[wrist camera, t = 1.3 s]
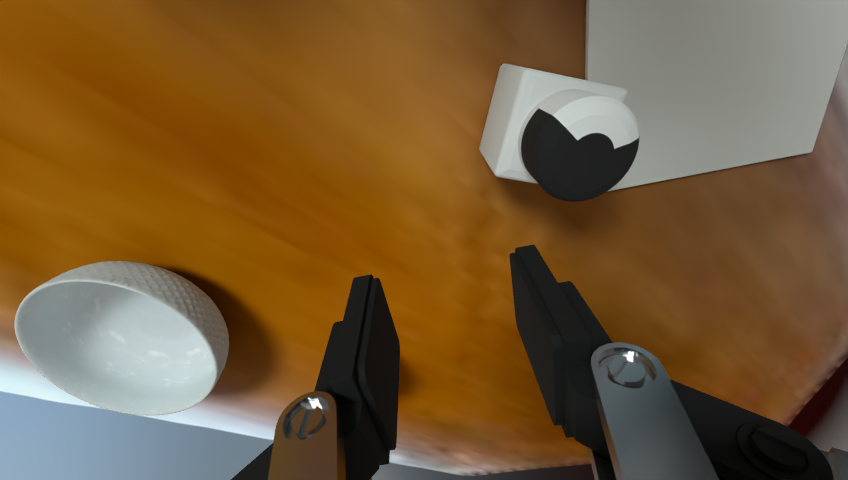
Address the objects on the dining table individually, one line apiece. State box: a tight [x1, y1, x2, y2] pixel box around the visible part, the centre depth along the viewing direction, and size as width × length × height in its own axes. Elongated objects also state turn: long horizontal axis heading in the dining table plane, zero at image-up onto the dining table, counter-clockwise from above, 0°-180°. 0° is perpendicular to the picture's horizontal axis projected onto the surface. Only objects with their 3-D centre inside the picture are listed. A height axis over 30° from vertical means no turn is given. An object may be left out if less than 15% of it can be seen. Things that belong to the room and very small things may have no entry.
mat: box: [585, 0, 848, 191], centre depth 29 cm, size 16×20×1 cm
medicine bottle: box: [479, 64, 639, 201], centre depth 25 cm, size 7×7×12 cm
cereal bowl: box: [15, 261, 229, 415], centre depth 36 cm, size 17×17×7 cm
